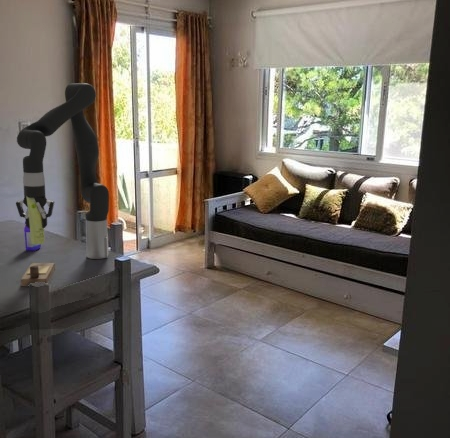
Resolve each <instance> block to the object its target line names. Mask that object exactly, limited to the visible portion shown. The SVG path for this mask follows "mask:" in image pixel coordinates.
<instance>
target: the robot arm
mask: <svg viewBox="0 0 450 438" xmlns="http://www.w3.org/2000/svg"><path fill="white" fill-rule="evenodd" d="M64 89H65V90H64V97H65V98H64V99H65V102H64V103H61V104H59V105H58V106H55V107H53V108H52V109H50V110H48V111H47V112H46V113H45V114H43V115H42V116H41V117H40V118H39V119H38V120H37V121H34V122H33V123H30V124H28V125H27V126H26V127H24V128H23V129H21V130H20V131H19V132H18V134H17V137H16V143H17V144H18V146H19V147H20V148H22V149H26V150H30V151H29V155H25V156H24V157H23V158H22V170H23V171H22V172H23V173H22V175H23V176H22V184H23V185H22V186H23V199H22V200H17V201H16V202H15V206H16V209H17V211H18V215H19V217H20V218H24V219H25V221H26V224H25V225H26V227H28V228H30V224H29V214H28V205H27V198H26V196H27V197H28V198H34V199H35V201H36V205H37V208H38V210H39V211H40V213H41V215H42V217H43V219H42V222H43V228H44V229H45V228H46V227H47V226H48V218H51V216H53V210H54V205H55V201H54V200H48V199H47V197H46V181H45V180H46V179H45V173H44V157H45V155H46V154H45V153H46V148H47V138H46V137H50V136H52V135H53V134H54V133H55V132H57V131H58V129H60V128H61V127H62V126H63V125H64V124H65V123H67V122H68V121H69V120H70V123H71V127H72V132H73V137H74V139H73V140H74V145H75V151H76V157H77V162H78V163H77V164H78V169H79V177H80V178H79V179H80V192H81V197H82V199H83V200H84V201H85V202H86V203H89V204H90V206H89V211H87V212H86V213H85V242H86V244H85V245H86V258H88V259H92V260H101V259H107V258H109V235H108V215H109V210H110V192H109V188H108V187H107V186H106V185H105V184H101V183H98V180H97V176H96V174H97V172H96V168H97V167H96V166H97V163H98V160H99V154H100V152H99V151H100V150H99V143H98V137H97V135H96V132H95V131H94V129H93V128H92V126H91V125H90V124H89V122H88V120H87V119H86V118H87V117H86V116H85V111H84V110H86V108H88V107H90V106H91V105H93V103H94V102H95V100H96V97H97V94H96V93H97V92H96V90H95V88H94V86H93V85H92V84H89V83H85V82H78V83H77V82H76V83H75V82H74V83H69V84H67V86H66V87H65V88H64ZM46 204H47V207H48V209H47V211H46V209H45V205H46ZM24 205H25V207H26V208H27V209H26V211H25V210H24V208H23V207H24ZM42 208H43V209H42Z"/></svg>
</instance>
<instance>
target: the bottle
mask: <svg viewBox="0 0 450 438" xmlns="http://www.w3.org/2000/svg"><path fill="white" fill-rule="evenodd" d="M24 224H25V225H24V229H23V230H24V231H23V233H24V241H25V242H24V244H25V247H24V248H25V250H26V251H28V252H33V251H34V252H35V251H37V250H39V249H41V246H42V244H38V245H35V244H31V236H30V228H28V227H26V220H25V221H24Z"/></svg>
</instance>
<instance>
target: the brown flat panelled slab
mask: <svg viewBox="0 0 450 438" xmlns="http://www.w3.org/2000/svg"><path fill="white" fill-rule="evenodd" d="M55 271H56V263H55V262H39V263H38V262H37V263H36V262H33V263H32V262H31V263H30V265H29V266H28V268H27V269H26V271H24V272H25V273H24V274H23V275H22V277H21V279H20V285H21V286H28V285H29V284H30V283H35V282H45V283H48V284H49V282H50V281H51V279H52V276H53V275H54V272H55Z"/></svg>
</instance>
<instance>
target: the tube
mask: <svg viewBox="0 0 450 438" xmlns="http://www.w3.org/2000/svg"><path fill="white" fill-rule="evenodd" d="M26 198H27V205H28V207H27V208H28V214H29V224H30V236H31V244H35V245H38V244H41V245H42V244H44V243H45V240H46V239H45V228H43V222H42V219H43V217H42V215H41V213H40V211H39V210H38V208H37V205H36V201H35V199H34V198H28V197H27V196H26ZM42 209H43V208H42Z"/></svg>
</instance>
